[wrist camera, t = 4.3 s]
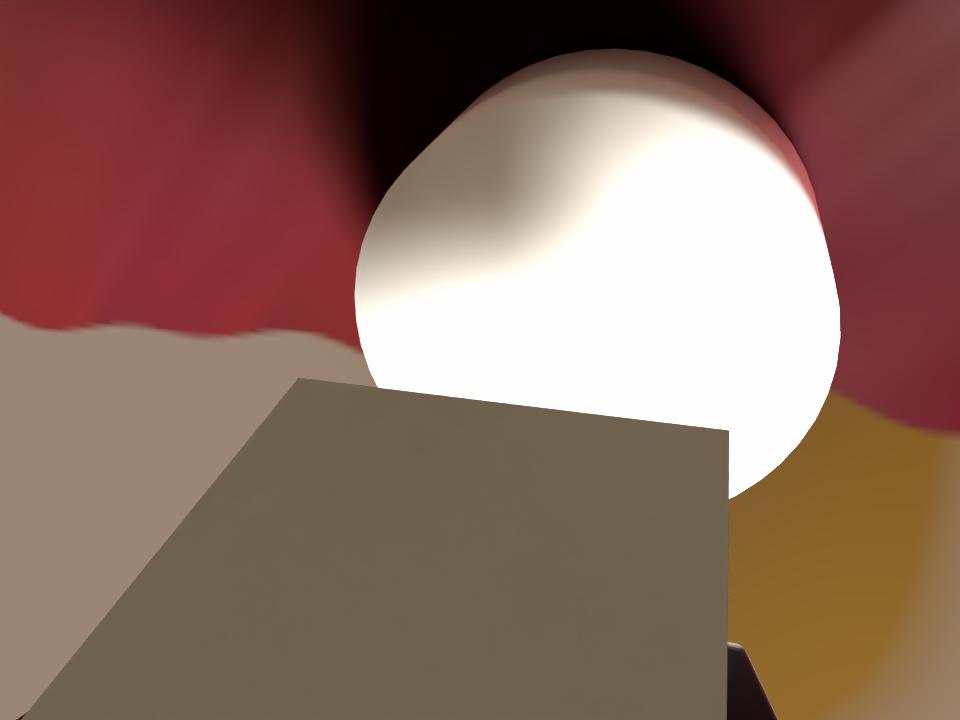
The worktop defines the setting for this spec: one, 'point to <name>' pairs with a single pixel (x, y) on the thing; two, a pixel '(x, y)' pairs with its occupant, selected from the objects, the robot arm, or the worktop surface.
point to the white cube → (429, 572)
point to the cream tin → (609, 257)
